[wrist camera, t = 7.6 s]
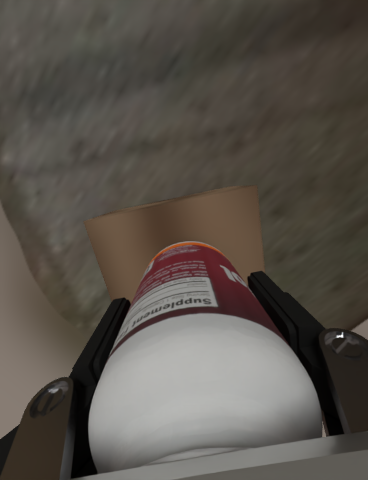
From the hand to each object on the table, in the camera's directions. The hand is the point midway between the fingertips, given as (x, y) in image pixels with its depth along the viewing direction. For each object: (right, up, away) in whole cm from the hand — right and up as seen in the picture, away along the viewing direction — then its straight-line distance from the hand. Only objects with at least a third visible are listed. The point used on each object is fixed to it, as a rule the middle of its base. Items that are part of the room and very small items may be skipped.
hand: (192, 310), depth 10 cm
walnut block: (0, +2, +9) cm, 9 cm away
